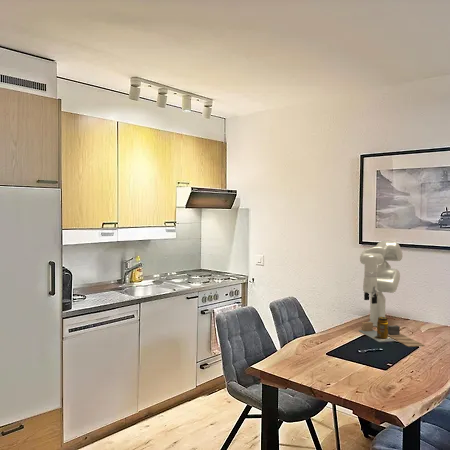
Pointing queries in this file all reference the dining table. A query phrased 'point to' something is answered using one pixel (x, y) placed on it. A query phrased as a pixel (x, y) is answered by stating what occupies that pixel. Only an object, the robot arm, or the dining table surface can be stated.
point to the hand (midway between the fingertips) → (370, 301)
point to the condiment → (382, 329)
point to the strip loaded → (372, 332)
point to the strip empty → (401, 337)
